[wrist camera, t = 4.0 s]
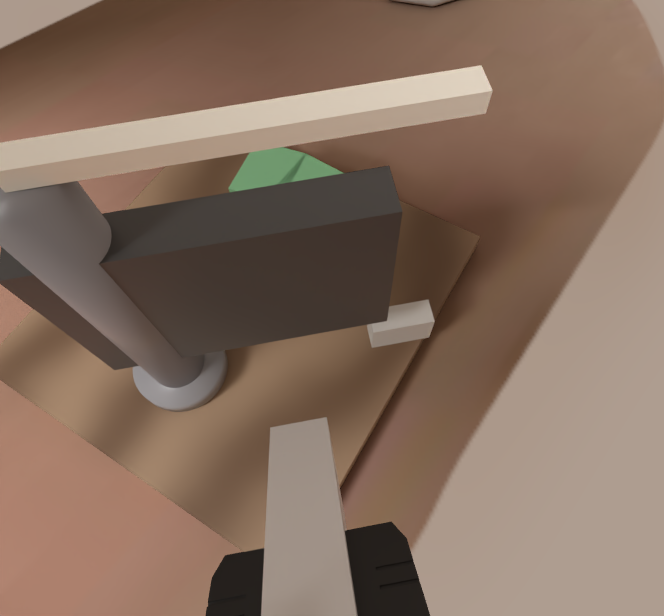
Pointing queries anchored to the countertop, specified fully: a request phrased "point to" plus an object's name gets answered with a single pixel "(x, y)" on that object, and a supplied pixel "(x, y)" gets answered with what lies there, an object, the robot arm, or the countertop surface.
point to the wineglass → (425, 2)
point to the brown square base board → (236, 379)
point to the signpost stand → (213, 232)
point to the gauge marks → (298, 166)
